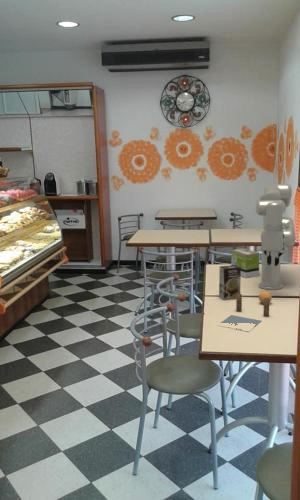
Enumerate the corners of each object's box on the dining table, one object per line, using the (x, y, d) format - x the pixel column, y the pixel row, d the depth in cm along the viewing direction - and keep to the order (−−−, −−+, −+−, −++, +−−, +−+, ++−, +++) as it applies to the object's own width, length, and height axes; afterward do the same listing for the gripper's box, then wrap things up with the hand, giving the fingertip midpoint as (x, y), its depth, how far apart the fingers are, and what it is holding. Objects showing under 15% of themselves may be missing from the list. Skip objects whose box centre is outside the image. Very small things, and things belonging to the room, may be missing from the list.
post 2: (264, 314, 189) (264, 297, 188) (269, 315, 188) (270, 298, 186) (262, 316, 187) (262, 299, 186) (267, 317, 186) (268, 299, 184)
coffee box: (224, 300, 211) (224, 268, 207) (218, 296, 217) (218, 266, 213) (240, 298, 213) (241, 267, 210) (235, 294, 219) (235, 264, 216)
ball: (261, 300, 208) (261, 288, 207) (273, 302, 205) (273, 290, 204) (256, 304, 203) (257, 292, 202) (269, 306, 200) (269, 294, 199)
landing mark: (231, 315, 190) (231, 314, 190) (261, 321, 182) (261, 320, 182) (217, 325, 179) (217, 325, 179) (248, 332, 171) (248, 331, 171)
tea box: (230, 273, 261) (230, 249, 258) (243, 271, 266) (244, 247, 263) (245, 278, 248) (246, 254, 245) (259, 276, 252) (260, 252, 249)
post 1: (237, 309, 197) (237, 293, 195) (242, 310, 195) (242, 294, 194) (235, 311, 195) (235, 294, 193) (240, 312, 193) (240, 295, 192)
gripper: (293, 227, 203) (291, 265, 207) (260, 225, 212) (259, 261, 216) (288, 230, 197) (287, 268, 201) (254, 227, 206) (254, 264, 210)
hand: (272, 264), depth 208 cm, fingers open, 2 cm apart
